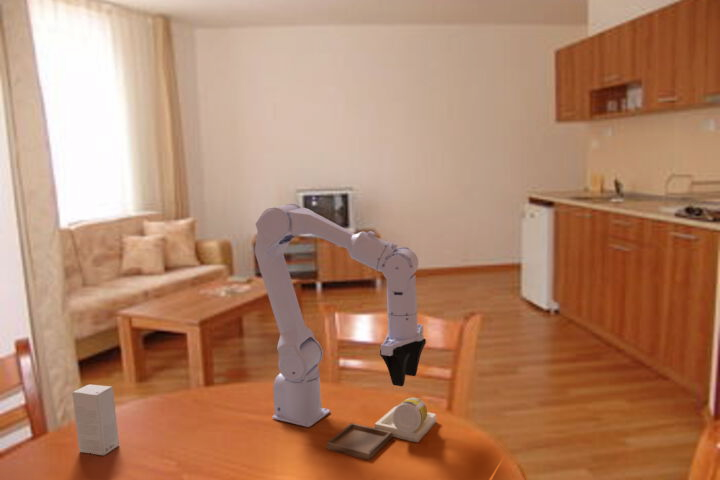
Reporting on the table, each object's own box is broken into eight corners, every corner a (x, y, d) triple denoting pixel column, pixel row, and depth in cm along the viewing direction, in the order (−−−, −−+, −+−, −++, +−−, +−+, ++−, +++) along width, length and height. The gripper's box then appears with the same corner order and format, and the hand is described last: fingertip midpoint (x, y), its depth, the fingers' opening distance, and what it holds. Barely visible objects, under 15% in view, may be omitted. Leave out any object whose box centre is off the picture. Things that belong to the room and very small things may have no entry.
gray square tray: (326, 449, 104) (326, 443, 104) (351, 428, 112) (351, 422, 112) (368, 460, 100) (368, 453, 99) (392, 438, 107) (392, 432, 107)
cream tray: (375, 432, 110) (374, 423, 109) (395, 414, 117) (395, 405, 117) (417, 442, 105) (417, 433, 105) (436, 422, 113) (436, 414, 113)
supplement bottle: (406, 440, 103) (418, 428, 112) (426, 419, 102) (436, 409, 112) (385, 418, 105) (398, 408, 114) (404, 397, 104) (416, 389, 113)
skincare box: (120, 445, 109) (114, 386, 107) (103, 456, 105) (96, 395, 103) (95, 441, 111) (88, 383, 109) (78, 452, 107) (71, 392, 105)
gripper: (404, 324, 100) (406, 397, 102) (436, 304, 112) (438, 370, 114) (369, 320, 103) (372, 390, 105) (404, 301, 116) (406, 365, 118)
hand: (404, 379), depth 110 cm, fingers open, 5 cm apart
